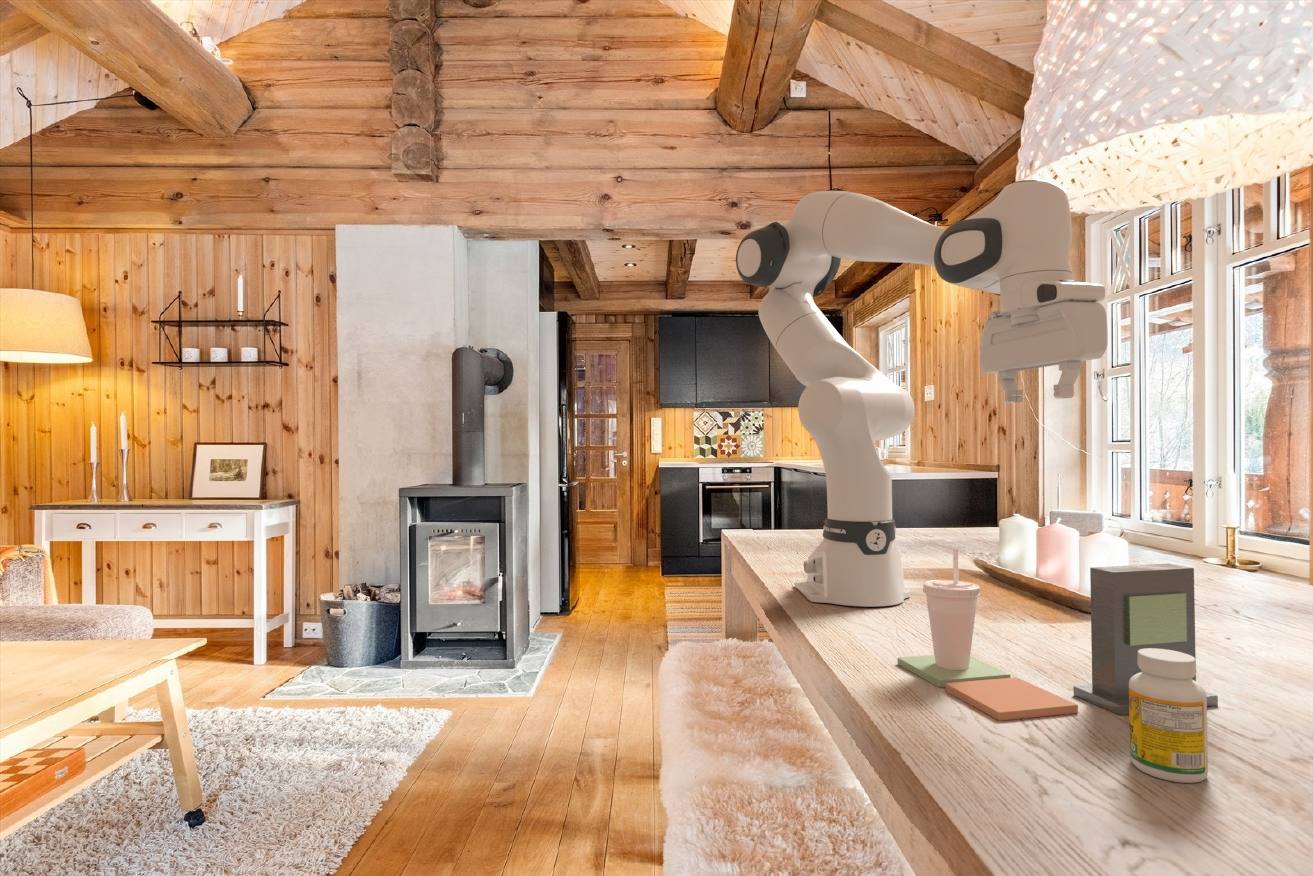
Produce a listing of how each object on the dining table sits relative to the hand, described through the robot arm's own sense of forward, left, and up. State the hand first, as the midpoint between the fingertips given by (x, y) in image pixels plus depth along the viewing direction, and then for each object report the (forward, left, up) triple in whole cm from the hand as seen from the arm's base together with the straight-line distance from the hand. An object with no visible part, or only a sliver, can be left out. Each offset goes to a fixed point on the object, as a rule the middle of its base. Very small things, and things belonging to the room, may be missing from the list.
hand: (1037, 400), depth 98 cm
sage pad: (+8, -19, -33) cm, 39 cm away
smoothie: (+8, -19, -32) cm, 38 cm away
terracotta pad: (+18, -19, -33) cm, 42 cm away
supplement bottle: (+35, -17, -33) cm, 51 cm away
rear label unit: (+21, -5, -33) cm, 39 cm away
